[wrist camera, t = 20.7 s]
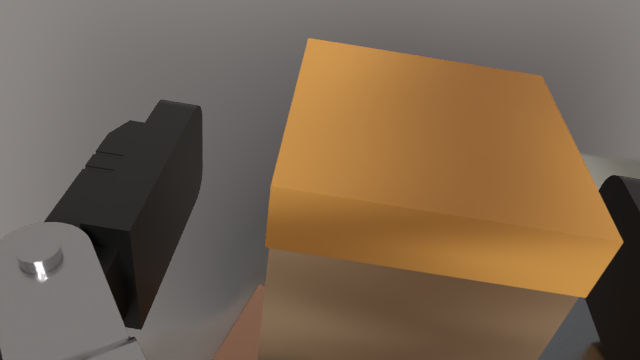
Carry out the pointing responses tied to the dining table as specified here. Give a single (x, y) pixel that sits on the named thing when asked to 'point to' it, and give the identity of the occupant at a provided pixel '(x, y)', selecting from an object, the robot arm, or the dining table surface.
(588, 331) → the sprocket base
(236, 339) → the salmon brown square slab
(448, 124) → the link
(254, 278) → the dining table surface
